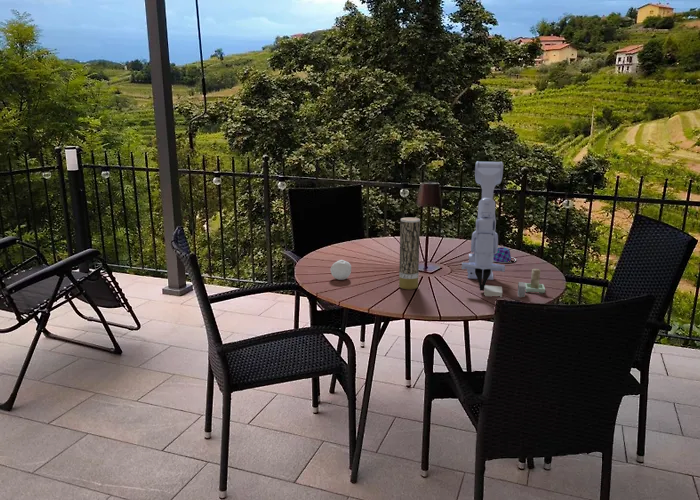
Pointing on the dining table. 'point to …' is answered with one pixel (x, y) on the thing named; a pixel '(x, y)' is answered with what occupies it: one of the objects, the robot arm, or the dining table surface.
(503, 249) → the multicoloured piece
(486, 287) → the tile
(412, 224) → the paper tube
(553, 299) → the dining table surface
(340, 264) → the white lumpy ball
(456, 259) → the dining table surface
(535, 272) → the dowel
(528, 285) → the tray
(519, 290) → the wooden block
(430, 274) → the dining table surface
